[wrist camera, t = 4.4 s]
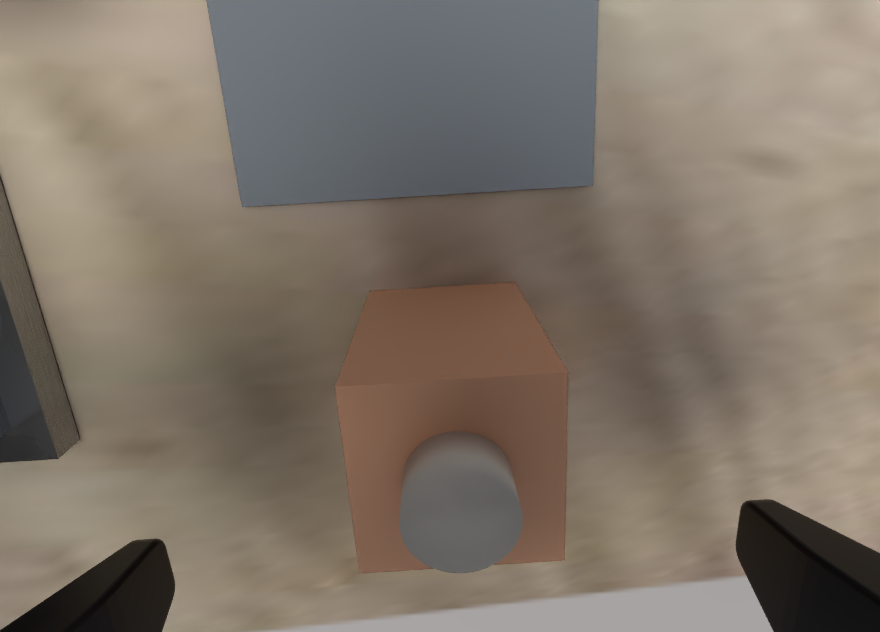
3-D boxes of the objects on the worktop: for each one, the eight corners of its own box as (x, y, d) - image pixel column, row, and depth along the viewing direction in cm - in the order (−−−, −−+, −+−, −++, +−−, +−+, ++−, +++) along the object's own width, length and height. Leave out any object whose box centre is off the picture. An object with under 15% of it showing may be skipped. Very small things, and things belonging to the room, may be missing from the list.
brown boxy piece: (382, 419, 16) (351, 626, 9) (369, 290, 15) (322, 422, 8) (516, 411, 16) (581, 611, 9) (514, 281, 15) (587, 405, 8)
